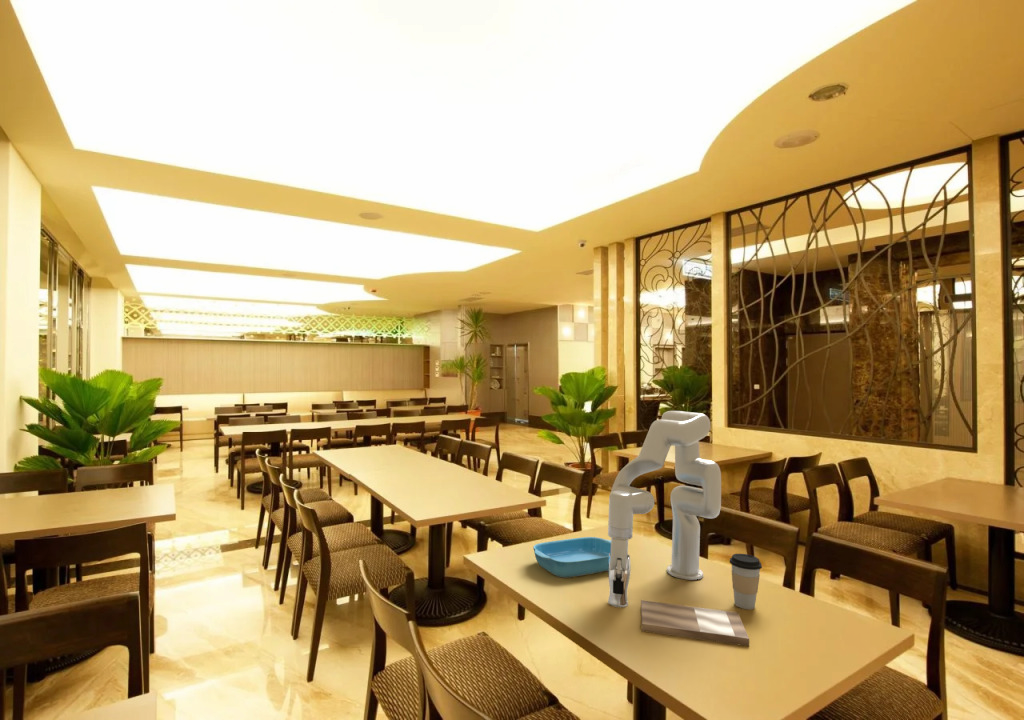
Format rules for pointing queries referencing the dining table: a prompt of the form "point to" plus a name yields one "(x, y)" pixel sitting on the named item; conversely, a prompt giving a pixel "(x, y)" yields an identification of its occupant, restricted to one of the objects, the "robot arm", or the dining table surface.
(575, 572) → the casserole dish
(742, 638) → the cutting board
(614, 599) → the beer glass
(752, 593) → the coffee cup
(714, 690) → the dining table surface
